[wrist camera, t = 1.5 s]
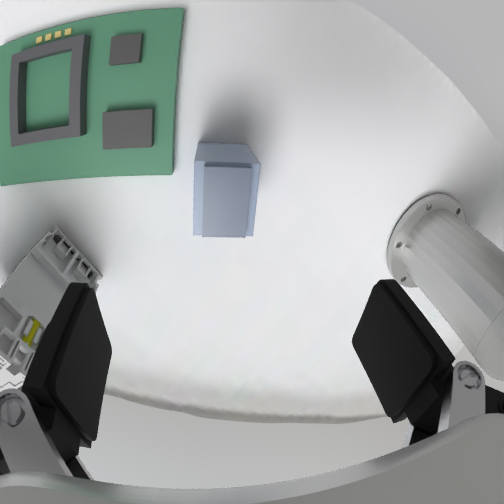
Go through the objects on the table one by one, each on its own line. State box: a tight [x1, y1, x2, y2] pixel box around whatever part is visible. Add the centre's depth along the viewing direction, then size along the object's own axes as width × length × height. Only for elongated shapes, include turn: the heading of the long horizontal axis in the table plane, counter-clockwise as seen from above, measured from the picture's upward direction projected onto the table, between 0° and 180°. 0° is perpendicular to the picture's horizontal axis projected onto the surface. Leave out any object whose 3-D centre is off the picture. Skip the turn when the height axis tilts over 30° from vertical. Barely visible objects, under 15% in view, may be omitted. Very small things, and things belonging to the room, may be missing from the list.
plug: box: [193, 143, 261, 238], centre depth 21 cm, size 4×5×8 cm
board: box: [0, 8, 184, 186], centre depth 17 cm, size 18×14×3 cm
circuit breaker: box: [0, 224, 103, 392], centre depth 21 cm, size 8×14×15 cm, turn 120°
